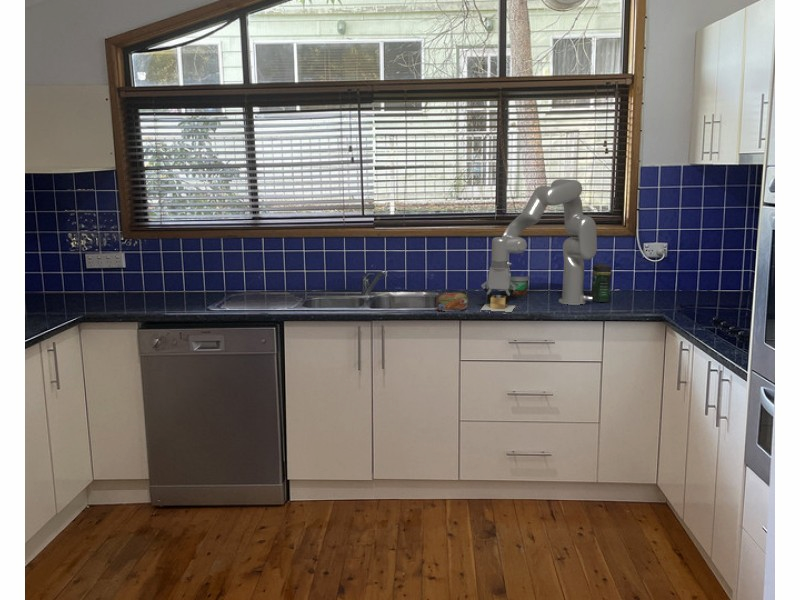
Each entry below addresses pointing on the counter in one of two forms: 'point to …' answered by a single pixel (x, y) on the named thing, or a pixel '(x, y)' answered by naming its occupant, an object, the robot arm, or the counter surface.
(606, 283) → the coffee jar
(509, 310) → the post base
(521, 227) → the robot arm
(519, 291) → the food container
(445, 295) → the tin
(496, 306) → the tan wooden block
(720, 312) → the counter surface
